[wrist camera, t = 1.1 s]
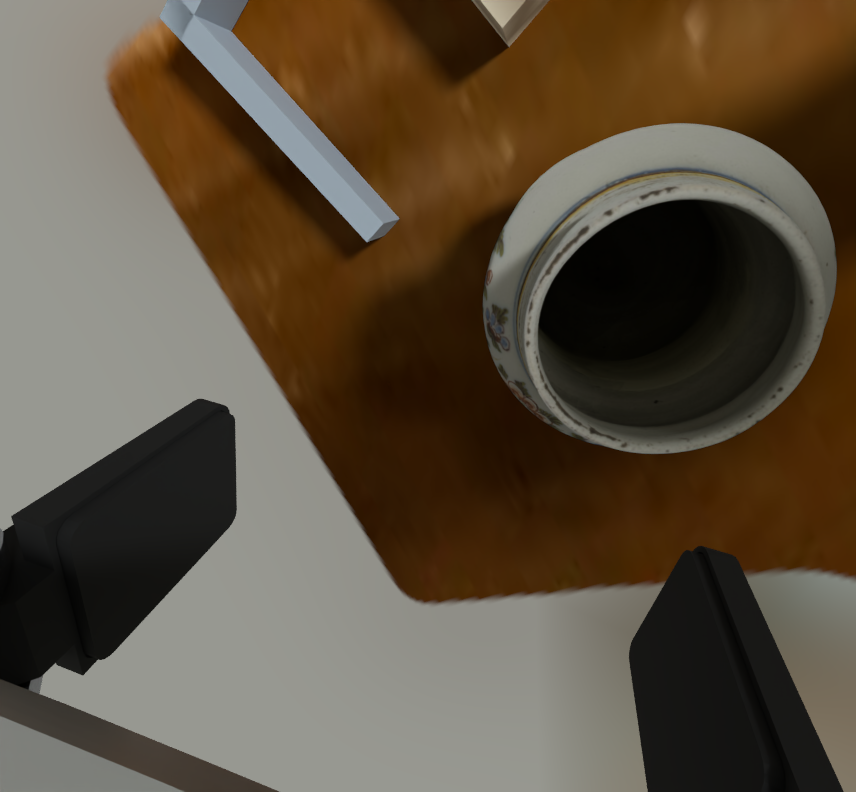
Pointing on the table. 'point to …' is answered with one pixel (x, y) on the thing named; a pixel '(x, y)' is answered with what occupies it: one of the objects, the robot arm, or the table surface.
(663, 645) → the robot arm
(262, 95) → the fence
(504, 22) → the t block
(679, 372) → the apothecary jar
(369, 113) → the table surface
